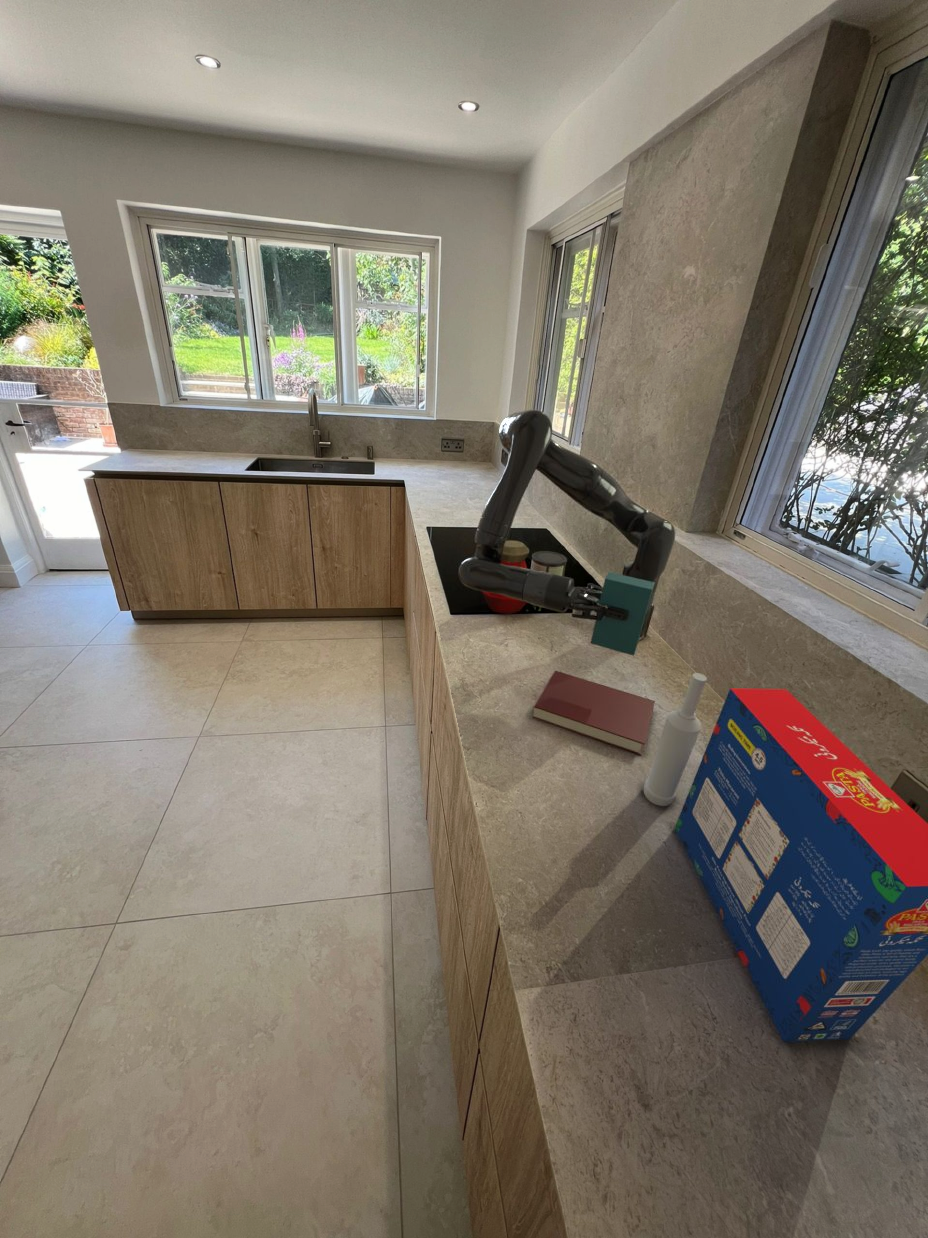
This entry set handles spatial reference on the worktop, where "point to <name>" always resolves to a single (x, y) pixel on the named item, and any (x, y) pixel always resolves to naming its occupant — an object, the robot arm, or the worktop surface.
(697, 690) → the bottle
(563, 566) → the coffee can
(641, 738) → the oxblood cookbook
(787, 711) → the pasta box
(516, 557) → the red lidded jar
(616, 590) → the teal rectangular block
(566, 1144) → the worktop surface
